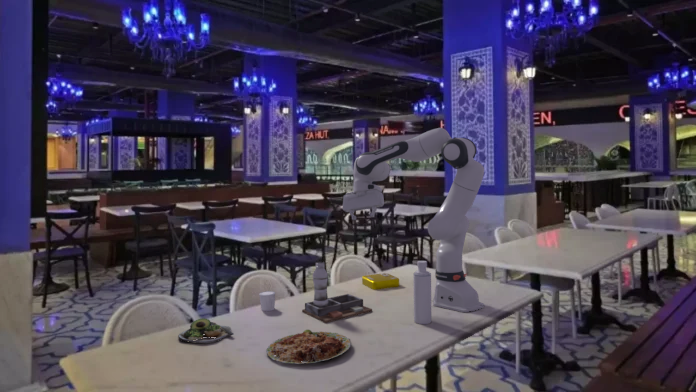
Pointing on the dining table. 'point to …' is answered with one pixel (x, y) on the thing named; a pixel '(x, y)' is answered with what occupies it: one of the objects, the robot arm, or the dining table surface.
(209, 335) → the salad plate
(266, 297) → the white cup
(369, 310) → the socket board
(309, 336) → the rice dish
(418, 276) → the white bottle
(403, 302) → the dining table surface
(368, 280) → the element tile
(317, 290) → the plastic bottle
